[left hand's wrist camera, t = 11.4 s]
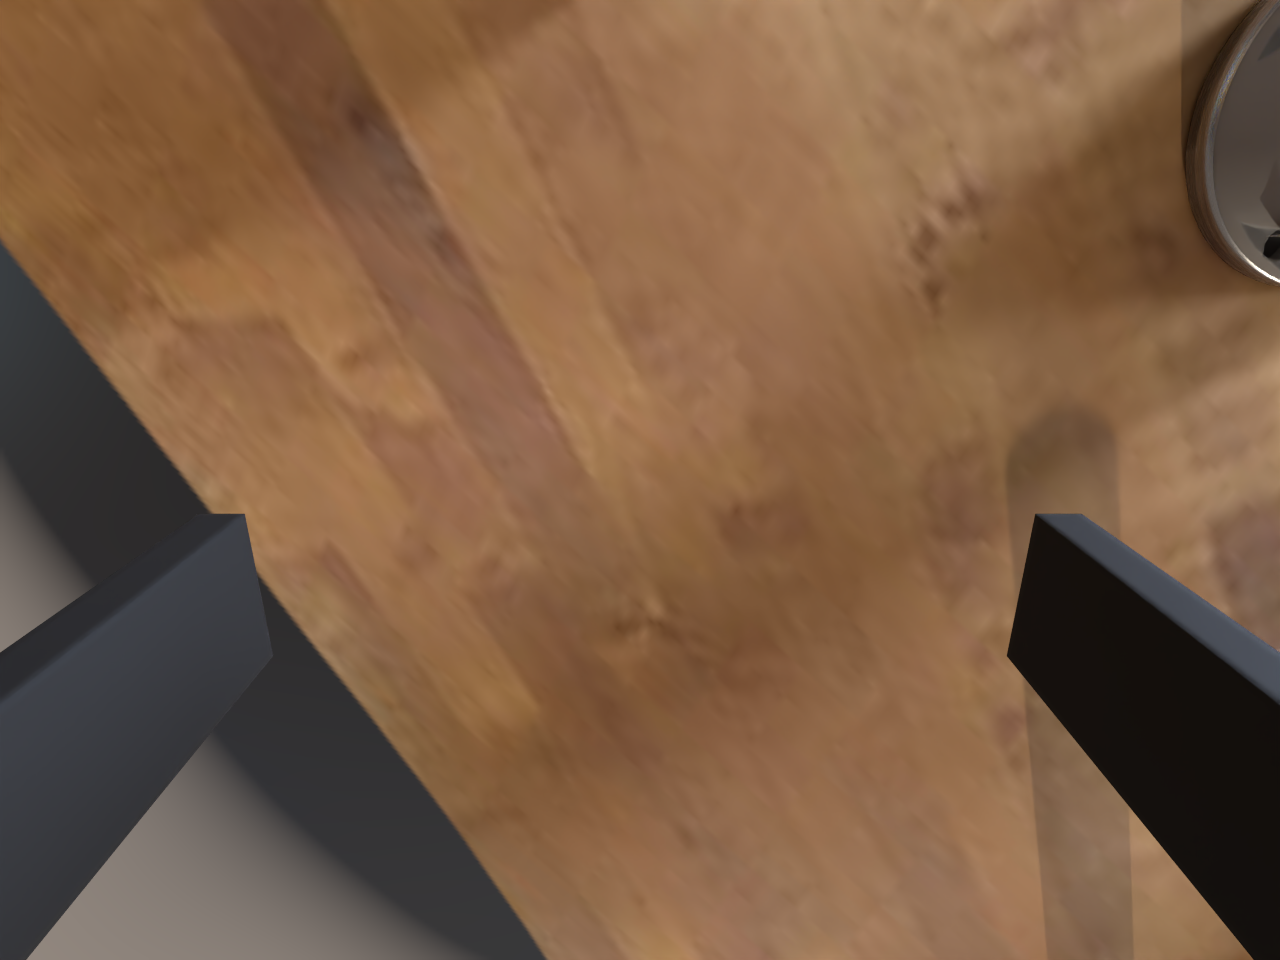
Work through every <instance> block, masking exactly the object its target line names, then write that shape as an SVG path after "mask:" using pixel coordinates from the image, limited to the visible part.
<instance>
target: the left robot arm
mask: <svg viewBox="0 0 1280 960" xmlns="http://www.w3.org/2000/svg"><path fill="white" fill-rule="evenodd" d="M1186 183H1187V190H1188V196H1189V201H1190V204H1191V208H1192V212H1193V215H1194V217H1195V220H1196V222H1197V224H1198V227H1199V229H1200V230H1201V232H1202V234H1203V236H1204V238H1205V239H1206V241H1207V242H1208V243H1209V245H1210V246H1211V247H1212V249H1213V250H1214V251H1215V252H1216V253H1217V254H1218V255H1219V256H1220V257H1221V259H1222V260H1224V261H1225V262H1226V263H1227V264H1229V265H1230V266H1231V267H1232V268H1234V269H1235V270H1237V271H1239V272H1240V273H1242V274H1243V275H1245V276H1248V277H1250V278H1252V279H1254V280H1256V281H1260V282H1263V283H1266V284H1269V285H1274V286H1279V287H1280V0H1261V1H1260V2H1259V3H1258V4H1257V5H1256V6H1255V7H1254V8H1253V9H1252V10H1251V12H1250V13H1249V14H1248V15H1247V16H1246V17H1245V18H1244V20H1243V21H1242V22H1241V23H1240V25H1239V26H1238V27H1237V28H1236V30H1235V31H1234V32H1233V34H1232V35H1231V37H1230V38H1229V40H1228V41H1227V43H1226V44H1225V46H1224V47H1223V49H1222V50H1221V52H1220V54H1219V55H1218V57H1217V59H1216V61H1215V62H1214V64H1213V66H1212V68H1211V70H1210V72H1209V74H1208V76H1207V78H1206V80H1205V82H1204V85H1203V87H1202V90H1201V92H1200V95H1199V98H1198V100H1197V103H1196V107H1195V110H1194V113H1193V116H1192V121H1191V125H1190V130H1189V134H1188V142H1187V150H1186ZM272 657H273V653H272V648H271V643H270V638H269V633H268V628H267V623H266V618H265V613H264V608H263V603H262V598H261V593H260V588H259V583H258V578H257V573H256V568H255V563H254V558H253V553H252V548H251V543H250V538H249V533H248V528H247V523H246V518H245V514H198V515H196V516H195V517H193V518H192V519H190V520H189V521H188V522H186V523H185V524H183V525H182V526H180V527H179V528H178V529H176V530H175V531H173V532H172V533H170V534H169V535H168V536H166V537H165V538H163V539H162V540H160V541H159V542H158V543H156V544H155V545H153V546H152V547H150V548H149V549H148V550H146V551H145V552H143V553H142V554H140V555H139V556H138V557H136V558H135V559H133V560H132V561H130V562H129V563H128V564H126V565H125V566H123V567H122V568H120V569H119V570H118V571H116V572H115V573H113V574H112V575H110V576H109V577H108V578H106V579H105V580H103V581H102V582H100V583H99V584H98V585H96V586H95V587H93V588H92V589H90V590H89V591H88V592H86V593H85V594H83V595H82V596H81V597H79V598H78V599H76V600H75V601H73V602H72V603H70V604H69V605H68V606H66V607H65V608H63V609H62V610H60V611H59V612H58V613H56V614H55V615H53V616H52V617H50V618H49V619H48V620H46V621H45V622H43V623H42V624H40V625H39V626H38V627H36V628H35V629H33V630H32V631H30V632H29V633H28V634H26V635H25V636H23V637H22V638H21V639H19V640H18V641H16V642H15V643H13V644H12V645H10V646H9V647H8V648H6V649H5V650H3V651H2V652H0V960H26V959H27V958H28V957H29V956H30V954H31V953H32V952H33V951H34V949H35V948H36V947H37V946H38V944H39V943H40V942H41V941H42V940H43V938H44V937H45V936H46V935H47V933H48V932H49V931H50V930H51V929H52V927H53V926H54V925H55V924H56V922H57V921H58V920H59V919H60V917H61V916H62V915H63V914H64V913H65V911H66V910H67V909H68V908H69V906H70V905H71V904H72V903H73V901H74V900H75V899H76V898H77V897H78V895H79V894H80V893H81V892H82V890H83V889H84V888H85V887H86V885H87V884H88V883H89V882H90V881H91V879H92V878H93V877H94V876H95V874H96V873H97V872H98V871H99V869H100V868H101V867H102V866H103V865H104V863H105V862H106V861H107V860H108V858H109V857H110V856H111V855H112V853H113V852H114V851H115V850H116V848H117V847H118V846H119V845H120V844H121V842H122V841H123V840H124V839H125V837H126V836H127V835H128V834H129V833H130V831H131V830H132V829H133V828H134V826H135V825H136V824H137V823H138V821H139V820H140V819H141V818H142V817H143V815H144V814H145V813H146V812H147V810H148V809H149V808H150V807H151V806H152V804H153V803H154V802H155V801H156V799H157V798H158V797H159V796H160V794H161V793H162V792H163V791H164V790H165V788H166V787H167V786H168V785H169V783H170V782H171V781H172V780H173V778H174V777H175V776H176V775H177V774H178V772H179V771H180V770H181V769H182V767H183V766H184V765H185V764H186V763H187V761H188V760H189V759H190V758H191V756H192V755H193V754H194V753H195V751H196V750H197V749H198V748H199V746H200V745H201V744H202V743H203V742H204V740H205V739H206V738H207V737H208V735H209V734H210V733H211V732H212V731H213V729H214V728H215V727H216V726H217V724H218V723H219V722H220V721H221V719H222V718H223V717H224V716H225V715H226V713H227V712H228V711H229V710H230V708H231V707H232V706H233V705H234V703H235V702H236V701H237V700H238V699H239V697H240V696H241V695H242V694H243V692H244V691H245V690H246V689H247V687H248V686H249V685H250V684H251V683H252V681H253V680H254V679H255V678H256V676H257V675H258V674H259V673H260V671H261V670H262V669H263V668H264V667H265V665H266V664H267V663H268V662H269V660H270V659H271V658H272ZM1007 657H1008V658H1009V659H1010V660H1011V662H1012V663H1013V664H1014V665H1015V667H1016V668H1017V669H1018V670H1019V672H1020V673H1021V674H1022V675H1023V676H1024V678H1025V679H1026V680H1027V681H1028V683H1029V684H1030V685H1031V686H1032V687H1033V689H1034V690H1035V691H1036V692H1037V694H1038V695H1039V696H1040V697H1041V699H1042V700H1043V701H1044V702H1045V703H1046V705H1047V706H1048V707H1049V708H1050V710H1051V711H1052V712H1053V713H1054V715H1055V716H1056V717H1057V718H1058V719H1059V721H1060V722H1061V723H1062V724H1063V726H1064V727H1065V728H1066V729H1067V731H1068V732H1069V733H1070V734H1071V735H1072V737H1073V738H1074V739H1075V740H1076V742H1077V743H1078V744H1079V745H1080V747H1081V748H1082V749H1083V750H1084V751H1085V753H1086V754H1087V755H1088V756H1089V758H1090V759H1091V760H1092V761H1093V763H1094V764H1095V765H1096V766H1097V767H1098V769H1099V770H1100V771H1101V772H1102V774H1103V775H1104V776H1105V777H1106V778H1107V780H1108V781H1109V782H1110V783H1111V785H1112V786H1113V787H1114V788H1115V790H1116V791H1117V792H1118V793H1119V794H1120V796H1121V797H1122V798H1123V799H1124V801H1125V802H1126V803H1127V804H1128V806H1129V807H1130V808H1131V809H1132V810H1133V812H1134V813H1135V814H1136V815H1137V817H1138V818H1139V819H1140V820H1141V822H1142V823H1143V824H1144V825H1145V826H1146V828H1147V829H1148V830H1149V831H1150V833H1151V834H1152V835H1153V836H1154V838H1155V839H1156V840H1157V841H1158V842H1159V844H1160V845H1161V846H1162V847H1163V849H1164V850H1165V851H1166V852H1167V854H1168V855H1169V856H1170V857H1171V858H1172V860H1173V861H1174V862H1175V863H1176V865H1177V866H1178V867H1179V868H1180V869H1181V871H1182V872H1183V873H1184V874H1185V876H1186V877H1187V878H1188V879H1189V881H1190V882H1191V883H1192V884H1193V885H1194V887H1195V888H1196V889H1197V890H1198V892H1199V893H1200V894H1201V895H1202V897H1203V898H1204V899H1205V900H1206V901H1207V903H1208V904H1209V905H1210V906H1211V908H1212V909H1213V910H1214V911H1215V913H1216V914H1217V915H1218V916H1219V917H1220V919H1221V920H1222V921H1223V922H1224V924H1225V925H1226V926H1227V927H1228V929H1229V930H1230V931H1231V932H1232V933H1233V935H1234V936H1235V937H1236V938H1237V940H1238V941H1239V942H1240V943H1241V945H1242V946H1243V947H1244V948H1245V949H1246V951H1247V952H1248V953H1249V954H1250V956H1251V957H1252V958H1253V959H1254V960H1280V652H1278V651H1277V650H1275V649H1274V648H1272V647H1271V646H1270V645H1268V644H1267V643H1265V642H1264V641H1262V640H1261V639H1260V638H1258V637H1257V636H1255V635H1254V634H1252V633H1251V632H1250V631H1248V630H1247V629H1245V628H1244V627H1242V626H1241V625H1240V624H1238V623H1237V622H1235V621H1234V620H1232V619H1231V618H1230V617H1228V616H1227V615H1225V614H1224V613H1222V612H1221V611H1220V610H1218V609H1217V608H1215V607H1214V606H1212V605H1211V604H1210V603H1208V602H1207V601H1205V600H1204V599H1202V598H1201V597H1200V596H1198V595H1197V594H1195V593H1194V592H1192V591H1191V590H1190V589H1188V588H1187V587H1185V586H1184V585H1182V584H1181V583H1180V582H1178V581H1177V580H1175V579H1174V578H1172V577H1171V576H1170V575H1168V574H1167V573H1165V572H1164V571H1162V570H1161V569H1160V568H1158V567H1157V566H1155V565H1154V564H1152V563H1151V562H1150V561H1148V560H1147V559H1145V558H1144V557H1142V556H1141V555H1140V554H1138V553H1137V552H1135V551H1134V550H1132V549H1131V548H1130V547H1128V546H1127V545H1125V544H1124V543H1122V542H1121V541H1120V540H1118V539H1117V538H1115V537H1114V536H1112V535H1111V534H1110V533H1108V532H1107V531H1105V530H1104V529H1102V528H1101V527H1100V526H1098V525H1097V524H1095V523H1094V522H1092V521H1091V520H1090V519H1088V518H1087V517H1085V516H1084V515H1082V514H1035V518H1034V523H1033V528H1032V533H1031V538H1030V543H1029V548H1028V553H1027V558H1026V563H1025V568H1024V573H1023V578H1022V583H1021V588H1020V593H1019V598H1018V603H1017V608H1016V613H1015V618H1014V623H1013V628H1012V633H1011V638H1010V643H1009V648H1008V653H1007Z"/></svg>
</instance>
